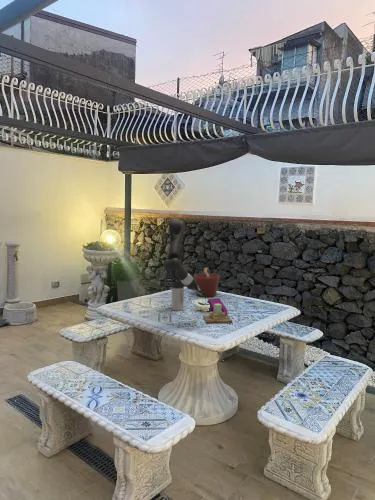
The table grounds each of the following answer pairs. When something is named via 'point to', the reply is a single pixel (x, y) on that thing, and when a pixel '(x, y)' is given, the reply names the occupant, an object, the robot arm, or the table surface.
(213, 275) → the bucket
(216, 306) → the rail post
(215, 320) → the cup bracket
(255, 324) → the table surface
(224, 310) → the mounting bracket
